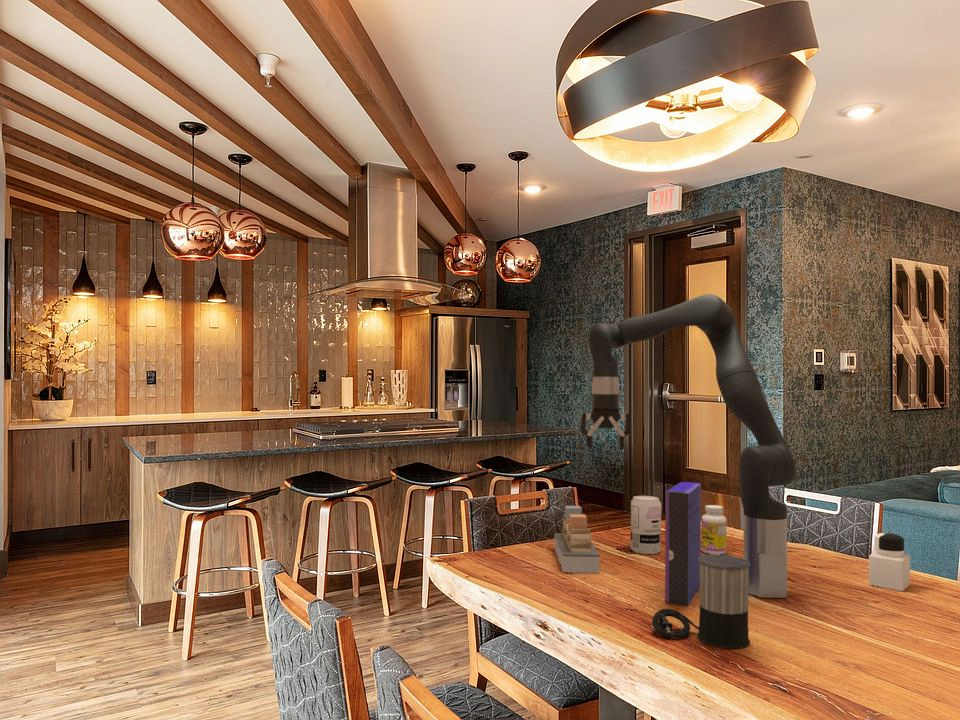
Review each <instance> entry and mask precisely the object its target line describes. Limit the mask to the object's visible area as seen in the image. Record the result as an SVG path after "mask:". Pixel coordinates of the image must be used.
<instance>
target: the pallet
mask: <svg viewBox="0 0 960 720" xmlns="http://www.w3.org/2000/svg"><path fill="white" fill-rule="evenodd" d="M562 533H563V536H564V539H565V541H566V543H567V545H568V547H569V549H570V552H571V553H591V542H592V530H591V528H589V525H588V524H587V529H571V532H570V530H569V519H565V514H562Z"/></svg>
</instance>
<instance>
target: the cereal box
mask: <svg viewBox="0 0 960 720" xmlns="http://www.w3.org/2000/svg"><path fill="white" fill-rule="evenodd" d="M664 497H665V502H664V503H665V505H664V506H665V509H664V511H665V512H664V513H665V514H664V516H665V520H664V521H665V522H664V523H665V526H664V528H665V529H664V532H665V534H664V537H665V538H664V543H665V544H664V545H665V546H664V551H665V554H664V555H665V556H664V560H665V561H664V563H665V564H664V565H665V567H664V584H665V585H664V594H665V595H664V603H665V604H668V603H669V604H668V605H674V604H675V605H676V606H681V605H682V606H683V607H689V605H690V604H691V602H692V601H691V600H693V599H694V597H695V596H696V594H697V593H698V591H699V590H700V588H699V587H700V562H699V561H698V558H699V557H700V556H702V549H701V538H702V483H700V482H698V483H697V482H691V481H680V482H678V483H677V484H675V485H674V486H673V487H671V488H670V489H668V490H666V492H665V496H664ZM694 595H695V596H694ZM682 606H681V607H682Z"/></svg>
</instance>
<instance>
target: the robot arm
mask: <svg viewBox="0 0 960 720" xmlns="http://www.w3.org/2000/svg"><path fill="white" fill-rule="evenodd" d="M692 326H693V327H697V328H698V329H699V330H701V331H702V332H703V333H704V334H705V336H706V337H707V339H708V341H709V343H710V345H711V348H712V350H713V352H714V356H715V375H716V382H717V386H718V389H719V392H720V394H721V397H722V400H723V402H724V404H725V405H726V407H727V409H728V410H730V411H731V413H732V414H733V415H734V416H735V417H736V418H737V419H738V420H739V421H740V422H741V423H743V425H745V426H746V428H748V429H749V431H750V432H751V433H752V434H753V435H752V436H754V437H753V438H755V440H756V443H757V445H749V446H747V447H745V448H744V449H743V450H742V452H741V454H740V458H739V462H738V468H739V469H738V477H739V489H740V490H739V491H740V502H741V505H742V509H743V559H745V560H747V561H749V563H750V566H749V578H748V595H753V596H757V598H768V599H771V598H773V599H775V598H779V599H780V598H781V599H787V598H788V596H787V595H788V508H787V506H786V504H785V503H784V502H783V503H782V502H780V501H777V500H775V499H773V497H771V495H770V494H771V493H770V489H769V487H777V486H779V487H781V486H786V485H789V484H791V483H792V482H793V481H794V479H795V476H796V469H797V468H796V463H795V459H794V456H793V454H792V452H791V450H790V447H789V445H788V443H787V441H786V440H785V438H784V436H783V434H782V432H781V430H780V428H779V426H778V424H777V421H776V420H775V419H774V415H773V413H772V412H771V409H770V406H769V404H768V401H767V399H766V397H765V394H764V392H763V388H762V386H761V383H760V380H759V377H758V376H757V372H756V370H755V369H754V366H753V364H752V362H751V359H750V358H749V356H748V354H747V351H746V349H745V348H744V345H743V342H742V339H741V336H740V332H739V328H738V323H737V319H736V317H735V313H734V311H733V309H732V307H731V306H729V304H728V303H727V302H726V301H724V300H723V299H722V298H721V297H719V296H718V295H716V294H712V293H708V294H702V295H699V296H696V297H693V298H692V299H688V300H686V301H684V302H681V303H678V304H676V305H673V306H670V307H668V308H665V309H661V310H658V311H655V312H652V313H648V314H643V315H637V316H633V317H629V318H626V319H624V320H623V321H621V322H617V323H615V322H614V323H606V322H597V323H594V324H593V326H592V327H591V328H590V330H589V333H588V344H589V350H590V354H591V358H592V362H593V363H592V369H593V370H592V371H593V372H592V376H593V378H592V384H591V387H592V388H591V393H592V394H591V403H592V404H591V406H592V407H591V411H590V412H591V413H588V412H587V413H585V412H581V413H580V421H579V422H580V424H579V433H580V434H583V435H585V437H586V438H585V444H586V445H585V446H586V447H587V448H588V450H593V436H592V435H593V433H594V432H595V431H596V430H597V429H598V428H599V429H612V428H613V429H614V430H615V432H616V433H617V434H618V436H617V439H618V440H617V442H618V443H617V445H618V446H617V448H618V451H621V450H623V448H624V447H625V437H626V436H628V435H631V434H632V426H631V425H632V424H631V414H630V413H628V412H627V413H620V407H619V406H620V405H619V403H620V399H619V398H620V396H619V395H620V389H619V388H620V384H619V361H618V359H617V357H615V356H614V355H613V352H612V349H614V348H620V347H623V346H626V345H629V344H632V343H633V344H634V343H640V342H644V341H650V340H653V339H656V338H658V337H661V336H662V335H664V334H666V333H667V332H669V331H671V330H673V329H677V328H680V327H692ZM590 418H591V420H592V422H593V423H592V424H591V425H590V427H589V429H586V424H587V422H588V421H589V419H590ZM620 419H621V420H622V421H623V422H624V430H622V428H621V427H620V425H619V424H618V422H619V420H620Z"/></svg>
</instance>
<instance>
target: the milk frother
mask: <svg viewBox="0 0 960 720" xmlns="http://www.w3.org/2000/svg"><path fill="white" fill-rule="evenodd" d="M698 561H699V562H700V588H699V616H698V617H699V622H698V626H697V625H696V624H695V623H694V622H693V621H692V620H690V618H688V617H687V615H684V614H683V613H682V612H681V611H680V612H679V610H676V609H672V608H663V609H660V610H658V611H656V612H655V613H654V615H653V617H652V621H651V624H652V625H651V626H652V627H653V629H654V630H655V632H657V633H659V634H660V635H662V636H665V637H668V638H675V639H676V638H685V637H686V636H687V635H689V633H690V631H691V626H692V627H694V628H695V629H697V630H698V633H697V638H698V640H699V641H701V642H702V643H704V644H706V645H709V646H711V647H715V648H720V649H728V650H736V649H742V648H746V647H748V646H750V643H751V640H750V639H749V631H750V630H749V593H748V578H749V566H750V563H749V561H747V560H745V559H744V558H743V557H742V558H741V557H740V556H739V557H737V556H735V555H730V554H729V555H728V554H722V555H716V554H703V555H701V556H700V557H699V558H698ZM666 617H672V618H674V619H675V620H676V619H677V620H678V621H680V622H681V623H682V625H683V627H682V628H681V629H680V630H676V631H675V630H672V628H673V623H672V622H670V621H669V620H668V618H666Z"/></svg>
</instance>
